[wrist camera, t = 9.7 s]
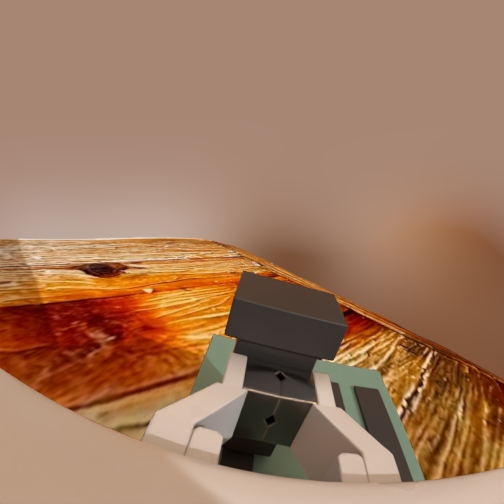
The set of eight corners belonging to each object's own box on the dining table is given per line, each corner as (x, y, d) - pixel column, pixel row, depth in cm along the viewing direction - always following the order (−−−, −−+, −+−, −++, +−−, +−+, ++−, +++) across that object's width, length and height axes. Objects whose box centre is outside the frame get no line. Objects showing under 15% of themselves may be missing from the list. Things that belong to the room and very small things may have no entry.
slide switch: (195, 444, 10) (233, 296, 8) (207, 405, 12) (243, 269, 10) (280, 463, 10) (349, 326, 8) (281, 422, 12) (334, 294, 10)
